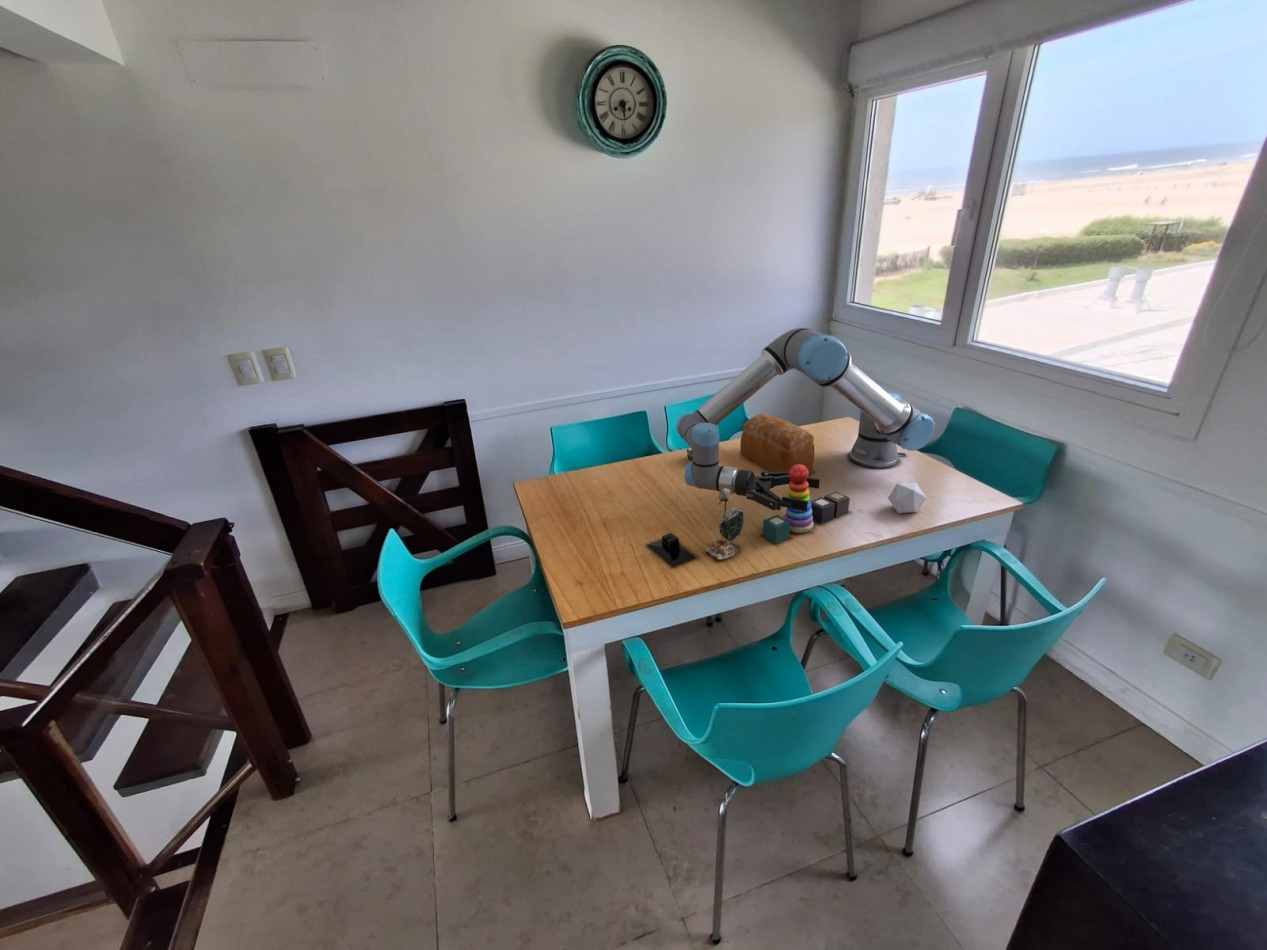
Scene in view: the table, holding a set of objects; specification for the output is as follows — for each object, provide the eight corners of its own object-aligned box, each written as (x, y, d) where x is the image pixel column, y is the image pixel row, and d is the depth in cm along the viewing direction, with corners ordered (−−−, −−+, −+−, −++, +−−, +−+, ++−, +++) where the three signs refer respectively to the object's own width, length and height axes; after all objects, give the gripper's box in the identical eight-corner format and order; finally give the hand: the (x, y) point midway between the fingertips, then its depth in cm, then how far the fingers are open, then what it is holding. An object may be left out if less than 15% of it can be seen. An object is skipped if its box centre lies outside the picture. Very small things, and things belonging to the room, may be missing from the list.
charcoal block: (820, 511, 162) (821, 496, 159) (833, 518, 158) (835, 503, 155) (807, 517, 159) (808, 501, 157) (821, 524, 156) (822, 508, 153)
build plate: (647, 546, 152) (646, 531, 150) (670, 537, 155) (669, 523, 153) (673, 567, 142) (672, 551, 140) (696, 557, 145) (695, 542, 143)
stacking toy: (815, 521, 156) (818, 461, 148) (810, 536, 150) (813, 473, 142) (787, 518, 160) (788, 458, 152) (781, 532, 153) (782, 470, 145)
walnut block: (834, 505, 164) (836, 490, 162) (848, 512, 160) (850, 496, 158) (822, 510, 162) (823, 495, 160) (836, 517, 158) (837, 501, 156)
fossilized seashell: (681, 451, 202) (687, 466, 194) (691, 437, 199) (697, 452, 191) (698, 458, 205) (705, 473, 197) (708, 444, 202) (715, 459, 194)
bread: (784, 482, 180) (786, 437, 173) (736, 455, 201) (737, 414, 195) (817, 472, 185) (821, 428, 178) (767, 447, 207) (769, 406, 200)
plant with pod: (752, 551, 146) (754, 483, 137) (715, 564, 142) (715, 494, 133) (734, 537, 152) (735, 471, 144) (699, 549, 148) (697, 482, 140)
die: (919, 523, 154) (937, 491, 153) (891, 508, 154) (909, 476, 153) (904, 518, 162) (921, 488, 162) (877, 504, 162) (894, 473, 161)
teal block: (776, 530, 154) (777, 514, 152) (789, 538, 150) (790, 521, 148) (762, 536, 152) (763, 519, 150) (775, 544, 148) (776, 527, 146)
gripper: (751, 475, 170) (823, 487, 160) (721, 513, 151) (800, 529, 141) (752, 453, 167) (825, 463, 157) (721, 488, 147) (802, 503, 137)
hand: (813, 494), depth 149 cm, fingers open, 13 cm apart
